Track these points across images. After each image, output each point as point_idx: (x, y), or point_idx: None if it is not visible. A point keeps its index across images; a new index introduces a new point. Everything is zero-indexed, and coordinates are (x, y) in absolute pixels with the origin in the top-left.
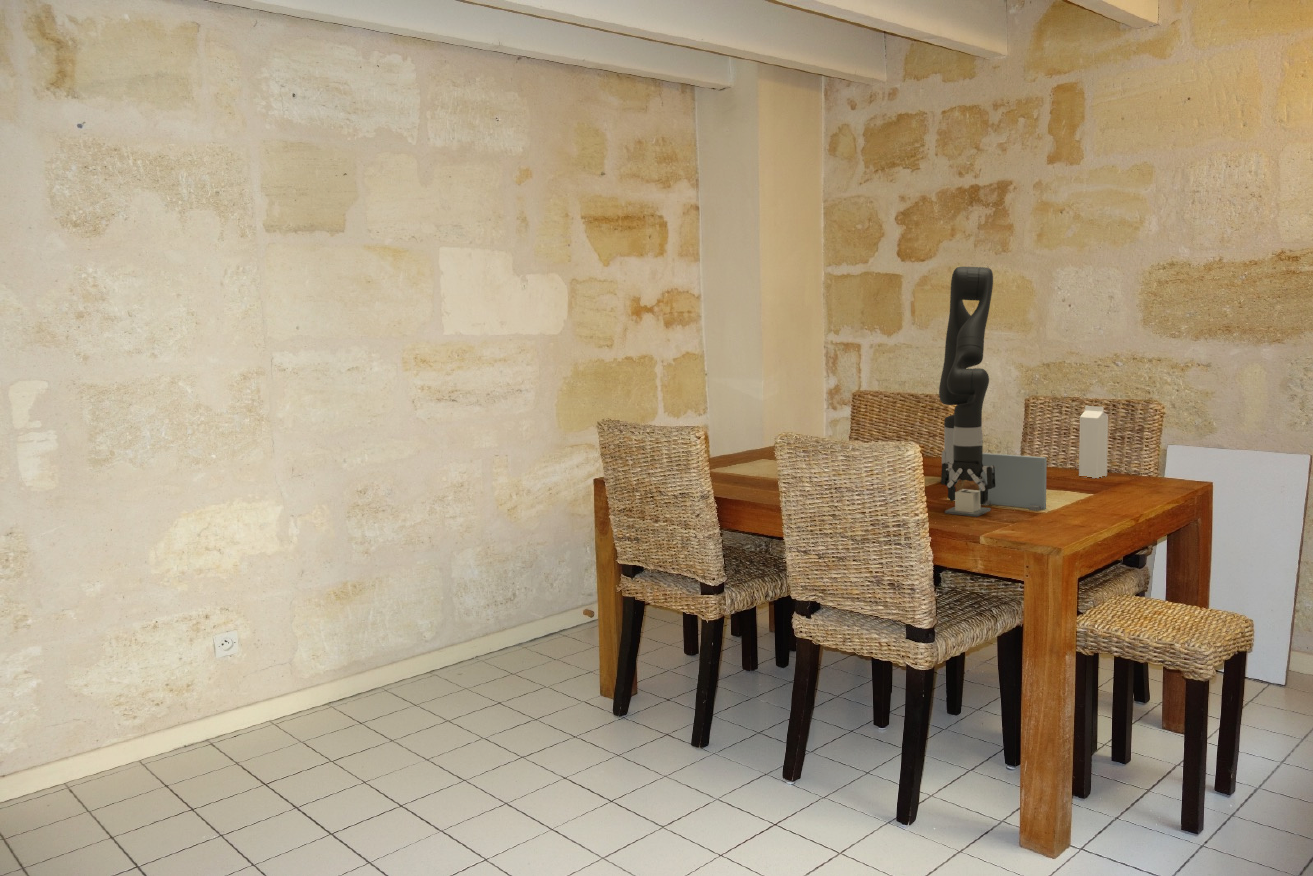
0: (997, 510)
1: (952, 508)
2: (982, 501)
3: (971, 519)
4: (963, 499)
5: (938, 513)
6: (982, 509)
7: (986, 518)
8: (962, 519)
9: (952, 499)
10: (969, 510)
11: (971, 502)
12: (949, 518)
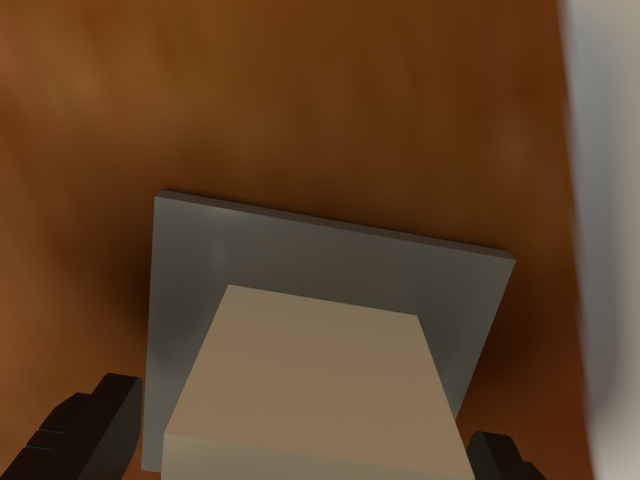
0: None
1: (454, 380)
2: (96, 391)
3: (174, 42)
4: (330, 382)
5: (570, 223)
6: None
7: (52, 150)
8: (268, 4)
9: (483, 445)
10: (263, 296)
11: (223, 348)
12: (423, 7)
